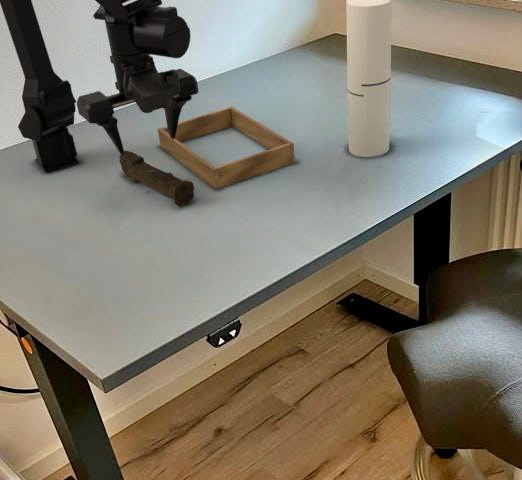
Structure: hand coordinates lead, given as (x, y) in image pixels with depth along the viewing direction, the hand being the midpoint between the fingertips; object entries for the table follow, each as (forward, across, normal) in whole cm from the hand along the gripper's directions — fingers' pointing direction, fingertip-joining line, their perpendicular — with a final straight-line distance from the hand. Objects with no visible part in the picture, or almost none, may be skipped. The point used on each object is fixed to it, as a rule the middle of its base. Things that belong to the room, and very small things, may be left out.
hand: (147, 146), depth 131 cm
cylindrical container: (+8, +37, -11) cm, 39 cm away
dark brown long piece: (+8, -1, 0) cm, 8 cm away
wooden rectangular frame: (+8, +16, +4) cm, 18 cm away
